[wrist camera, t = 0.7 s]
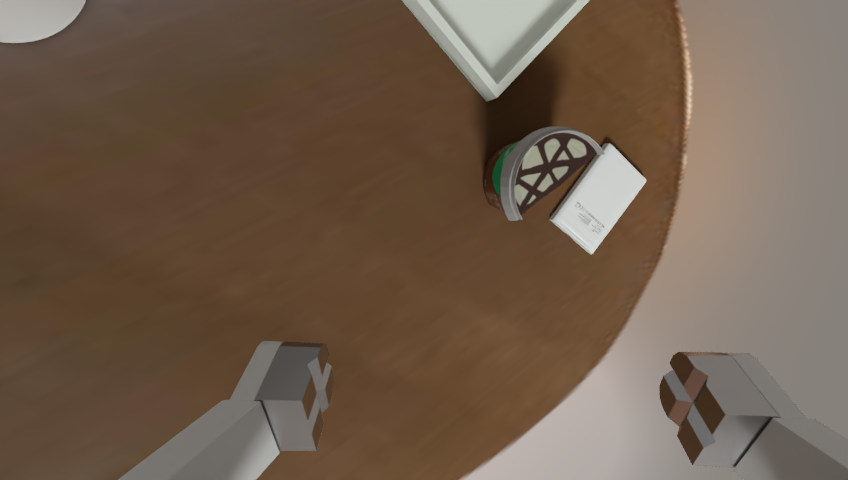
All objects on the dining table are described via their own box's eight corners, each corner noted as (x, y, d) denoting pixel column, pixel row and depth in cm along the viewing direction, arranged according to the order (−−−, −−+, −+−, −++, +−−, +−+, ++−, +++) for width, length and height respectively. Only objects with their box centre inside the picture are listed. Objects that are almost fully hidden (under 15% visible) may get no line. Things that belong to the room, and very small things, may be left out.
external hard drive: (638, 180, 55) (586, 252, 55) (601, 143, 53) (546, 218, 53) (648, 181, 54) (593, 255, 54) (610, 142, 51) (553, 220, 51)
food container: (531, 112, 49) (582, 99, 40) (555, 153, 51) (608, 150, 41) (453, 171, 48) (486, 173, 38) (480, 212, 50) (518, 223, 40)
